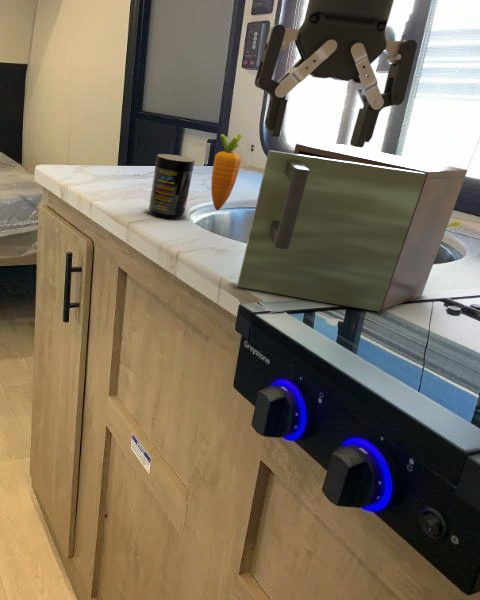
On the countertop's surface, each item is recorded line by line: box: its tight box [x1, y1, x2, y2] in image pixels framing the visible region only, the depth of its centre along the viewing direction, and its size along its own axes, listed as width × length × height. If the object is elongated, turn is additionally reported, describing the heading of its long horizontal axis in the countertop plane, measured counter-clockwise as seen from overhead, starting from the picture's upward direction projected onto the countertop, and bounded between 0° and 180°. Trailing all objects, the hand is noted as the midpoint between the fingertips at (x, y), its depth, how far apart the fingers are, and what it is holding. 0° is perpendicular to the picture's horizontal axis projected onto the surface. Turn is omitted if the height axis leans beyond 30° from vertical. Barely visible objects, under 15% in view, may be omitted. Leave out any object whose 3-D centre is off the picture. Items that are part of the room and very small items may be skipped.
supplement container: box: [148, 153, 196, 220], centre depth 108 cm, size 7×7×10 cm
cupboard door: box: [237, 149, 426, 313], centre depth 70 cm, size 8×18×17 cm, turn 79°
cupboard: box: [293, 143, 468, 311], centre depth 82 cm, size 12×18×18 cm
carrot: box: [210, 133, 243, 211], centre depth 116 cm, size 5×5×15 cm
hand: (314, 141), depth 62 cm, fingers open, 8 cm apart
